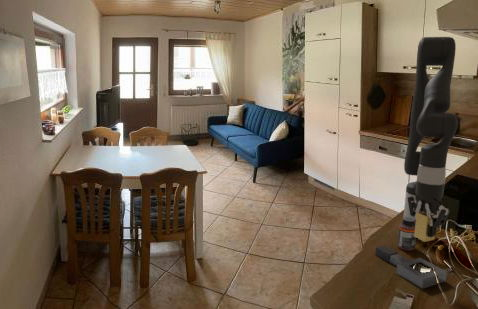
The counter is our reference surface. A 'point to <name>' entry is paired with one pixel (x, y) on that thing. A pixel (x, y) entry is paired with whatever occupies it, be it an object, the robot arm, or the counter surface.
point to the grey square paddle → (411, 268)
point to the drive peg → (422, 227)
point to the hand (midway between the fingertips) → (424, 233)
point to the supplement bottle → (407, 234)
